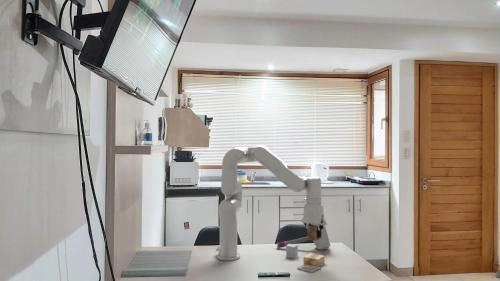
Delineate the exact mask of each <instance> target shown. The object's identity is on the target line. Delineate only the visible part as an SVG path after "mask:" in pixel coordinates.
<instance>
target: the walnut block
mask: <svg viewBox="0 0 500 281" xmlns="http://www.w3.org/2000/svg"><path fill="white" fill-rule="evenodd" d="M317 230H318V229H317V225H315V224H310V225H307V228H306V237H307V239H310V240H309V241H313V240H315V241H316V240H319V239H321V238H317Z"/></svg>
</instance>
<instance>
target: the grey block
mask: <svg viewBox="0 0 500 281" xmlns="http://www.w3.org/2000/svg"><path fill="white" fill-rule="evenodd" d="M298 248H299V246H298V244H297V243H296V244H288V245H287V246H286V247H285V250H286V252H285V255H286V256H285V257H286V258H289V259H290V258H293V259H296V258H297V257H298V254H299V252H298V251H299V250H298Z"/></svg>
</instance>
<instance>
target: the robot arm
mask: <svg viewBox="0 0 500 281" xmlns="http://www.w3.org/2000/svg"><path fill="white" fill-rule="evenodd" d="M254 162H257V163H259V164H261V166H263V167H264V168H265V169H266V170H268V171H269V172H270V173H271V174H272V175H274V177H276V179H278V180H279V181H280V182H281V183H283V185H285V186H286V187H287V188H288V189H290V190H291V191H293V192H295V193H301V192H303V191H305V190H306V191H305V194H306V197H305V198H304V201H305V202H306V203H304V206H303V215H302V216H303V218H302V219H301V223H302V224H303V225H304V226H305V229H307V225H310V224H315V225H317V229H318V230H317V238H321V235H322V233H321V230H322V229H323V228H324V227H326V226H327V225H328V223H327V221H326V219H325V212H324V206H323V204H322V179H321V178H320V177H318V176H308V177H307V176H299V175H297V174H295V173H294V172H293V171H292V170H291V169H290V168H289V167H288V166H287V165H286V163H285V162H284V161H283V159H281V158H280V157H279V156H277V155H276V154H274V153H273V152H272V151H271V150H270V148H269V147H268V146H267V145H256V146H250V147H249V146H247V147H234V148H231V149H229V150H227V152H226V153H225V155H224V156H223V158H222V163H221V185H220V190H221V193H222V194H223V195H224V196H225V199H223V200H221V202H220V203H219V205H218V217H219V246H218V247H217V248H215V251H216V252H218V253H217V255H216V259H217V260H220V261H235V260H238V259H240V258H241V254H240V253H238V218H237V217H238V216H237V213H238V212H239V211H240V210H241V209H242V205H243V204H242V203H243V201H242V199H243V185H242V182H241V180H240V179H239V178H238V165H239V164H243V163H254ZM322 223H323V225H322Z"/></svg>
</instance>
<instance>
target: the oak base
mask: <svg viewBox="0 0 500 281" xmlns="http://www.w3.org/2000/svg"><path fill="white" fill-rule="evenodd" d="M306 264H308V265H312V266H316V267H320V266H322V265H323V264H325V255H323V254H317V253H311V252H310V253H308V254H306V255H304V256H303V266H304V265H306Z"/></svg>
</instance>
